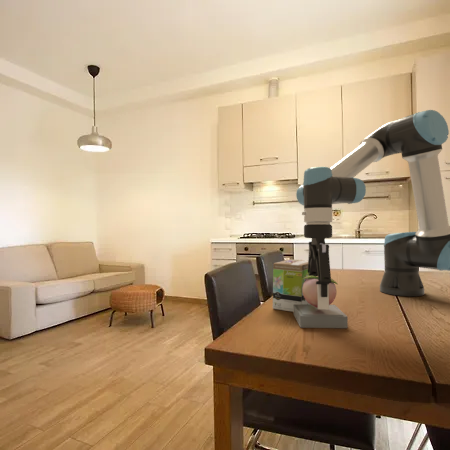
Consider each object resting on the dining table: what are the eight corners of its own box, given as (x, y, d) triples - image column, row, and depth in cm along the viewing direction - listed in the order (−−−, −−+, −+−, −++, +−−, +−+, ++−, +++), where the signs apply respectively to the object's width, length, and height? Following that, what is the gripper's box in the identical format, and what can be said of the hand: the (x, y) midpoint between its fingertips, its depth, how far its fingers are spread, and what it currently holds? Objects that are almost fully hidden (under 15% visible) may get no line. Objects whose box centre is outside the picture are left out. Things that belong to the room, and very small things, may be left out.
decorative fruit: (301, 313, 85) (301, 276, 84) (302, 302, 93) (302, 269, 92) (338, 316, 83) (339, 278, 82) (336, 305, 90) (336, 270, 89)
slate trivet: (334, 314, 94) (334, 304, 94) (347, 328, 82) (347, 315, 82) (293, 314, 94) (293, 303, 94) (300, 327, 82) (300, 315, 82)
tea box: (302, 313, 95) (302, 264, 95) (271, 309, 100) (271, 262, 100) (317, 303, 108) (316, 259, 108) (288, 299, 113) (288, 258, 113)
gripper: (297, 223, 100) (298, 294, 100) (312, 223, 77) (313, 315, 77) (322, 223, 99) (322, 294, 99) (344, 223, 76) (345, 315, 76)
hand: (318, 303), depth 88 cm, fingers open, 10 cm apart
